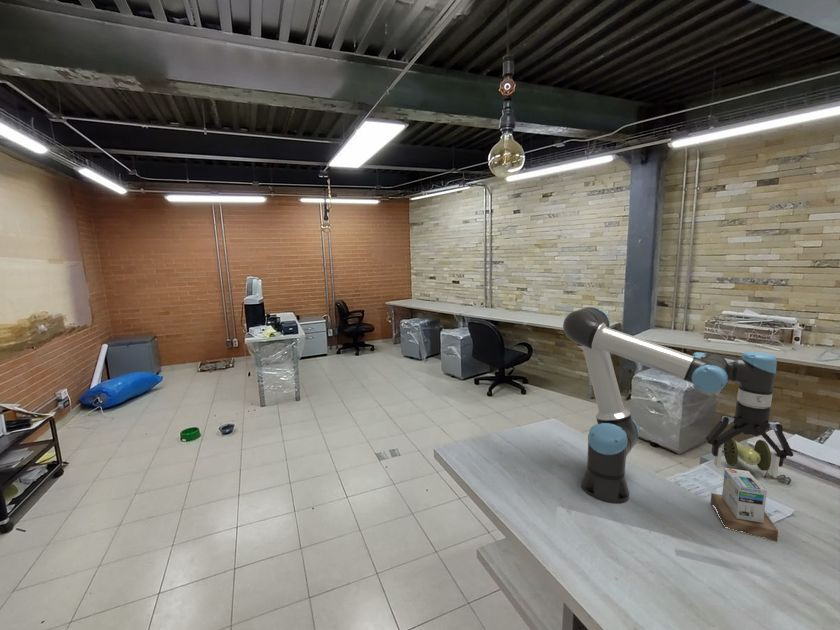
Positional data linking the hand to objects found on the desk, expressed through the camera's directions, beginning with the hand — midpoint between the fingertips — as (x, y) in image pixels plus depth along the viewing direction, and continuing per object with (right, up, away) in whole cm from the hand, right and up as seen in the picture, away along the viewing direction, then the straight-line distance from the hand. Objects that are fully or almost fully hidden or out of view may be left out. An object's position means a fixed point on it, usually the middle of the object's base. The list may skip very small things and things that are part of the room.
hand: (744, 470), depth 113 cm
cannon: (+32, -12, +39) cm, 52 cm away
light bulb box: (+1, -13, +2) cm, 13 cm away
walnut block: (+1, -18, +2) cm, 18 cm away
